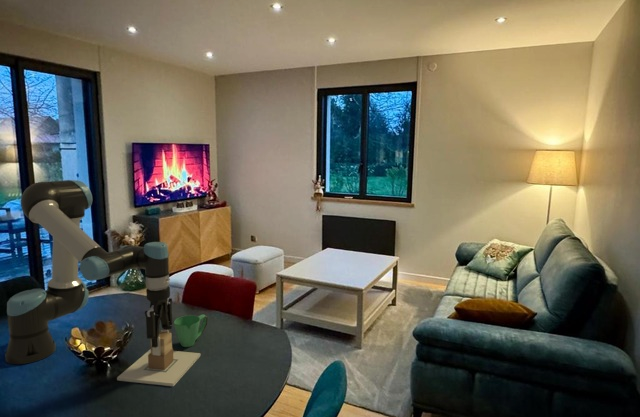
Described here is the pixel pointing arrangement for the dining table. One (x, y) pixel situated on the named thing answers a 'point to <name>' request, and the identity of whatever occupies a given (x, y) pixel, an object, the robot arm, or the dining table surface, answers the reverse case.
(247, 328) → the dining table surface
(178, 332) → the mug
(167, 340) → the oak block
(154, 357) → the cream square board
